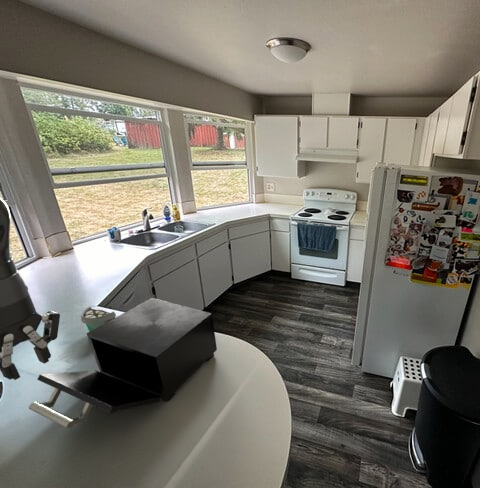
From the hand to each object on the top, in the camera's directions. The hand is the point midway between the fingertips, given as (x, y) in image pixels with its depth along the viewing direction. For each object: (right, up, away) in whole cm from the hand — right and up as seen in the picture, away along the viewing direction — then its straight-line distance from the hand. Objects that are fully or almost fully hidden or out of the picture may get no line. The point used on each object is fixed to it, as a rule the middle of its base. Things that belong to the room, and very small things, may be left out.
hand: (30, 369), depth 52 cm
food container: (-23, -9, +41) cm, 48 cm away
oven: (+9, -14, +30) cm, 34 cm away
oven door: (+5, -16, +18) cm, 24 cm away
